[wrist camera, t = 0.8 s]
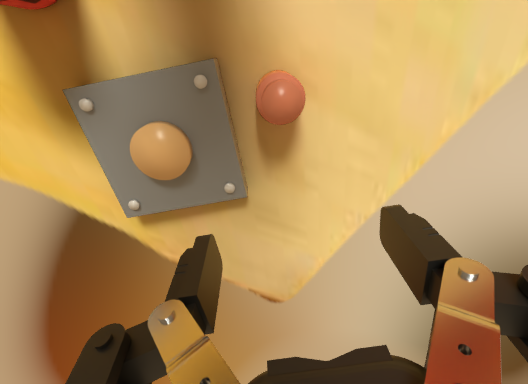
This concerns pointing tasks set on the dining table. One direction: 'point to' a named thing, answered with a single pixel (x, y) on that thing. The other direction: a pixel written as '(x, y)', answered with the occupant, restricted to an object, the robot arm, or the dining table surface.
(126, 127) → the square plate with knob
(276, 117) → the orange rounded knob
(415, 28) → the dining table surface
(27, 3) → the canned food
